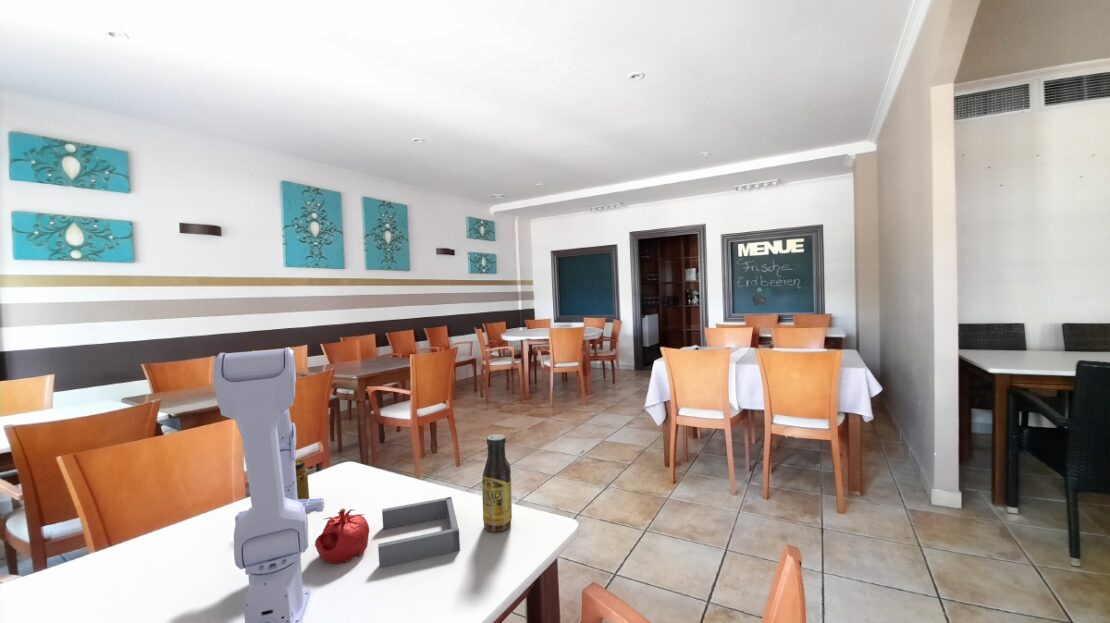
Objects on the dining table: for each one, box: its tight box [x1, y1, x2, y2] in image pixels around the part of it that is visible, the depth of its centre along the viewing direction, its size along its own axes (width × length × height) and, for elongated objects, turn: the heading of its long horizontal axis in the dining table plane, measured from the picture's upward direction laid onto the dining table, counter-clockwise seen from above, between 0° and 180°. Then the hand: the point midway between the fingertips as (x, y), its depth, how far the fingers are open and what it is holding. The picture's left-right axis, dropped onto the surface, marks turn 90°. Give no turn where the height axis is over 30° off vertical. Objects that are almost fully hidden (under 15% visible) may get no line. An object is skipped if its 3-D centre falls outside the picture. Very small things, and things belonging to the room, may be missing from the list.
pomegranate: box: [314, 507, 370, 564], centre depth 89 cm, size 10×10×9 cm
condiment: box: [295, 459, 310, 514], centre depth 109 cm, size 7×8×12 cm
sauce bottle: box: [481, 433, 513, 533], centre depth 97 cm, size 7×6×20 cm
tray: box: [377, 496, 461, 569], centre depth 94 cm, size 16×15×4 cm
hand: (284, 553), depth 86 cm, fingers closed
